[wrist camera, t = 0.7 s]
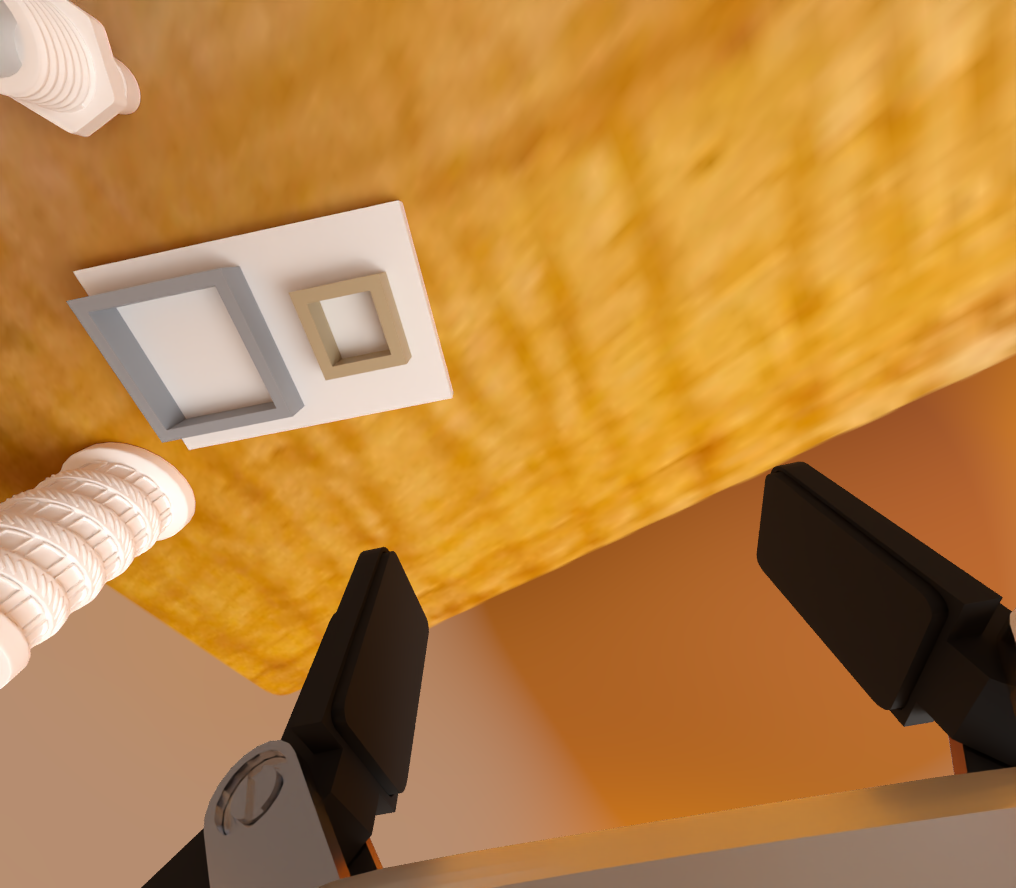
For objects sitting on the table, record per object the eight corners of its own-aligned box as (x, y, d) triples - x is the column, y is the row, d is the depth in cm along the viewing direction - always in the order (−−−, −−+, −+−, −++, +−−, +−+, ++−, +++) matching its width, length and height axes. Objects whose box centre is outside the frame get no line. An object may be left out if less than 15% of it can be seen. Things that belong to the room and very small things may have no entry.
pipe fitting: (192, 109, 27) (87, 60, 20) (117, 164, 28) (-6, 137, 21) (111, -7, 24) (-44, -111, 17) (33, 59, 26) (-142, -12, 18)
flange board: (90, 270, 31) (39, 273, 28) (402, 202, 30) (391, 196, 27) (199, 442, 39) (170, 462, 35) (453, 392, 37) (449, 407, 34)
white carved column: (145, 548, 44) (-48, 720, 28) (45, 475, 39) (-258, 632, 23) (219, 505, 42) (56, 665, 26) (123, 422, 37) (-150, 555, 21)
